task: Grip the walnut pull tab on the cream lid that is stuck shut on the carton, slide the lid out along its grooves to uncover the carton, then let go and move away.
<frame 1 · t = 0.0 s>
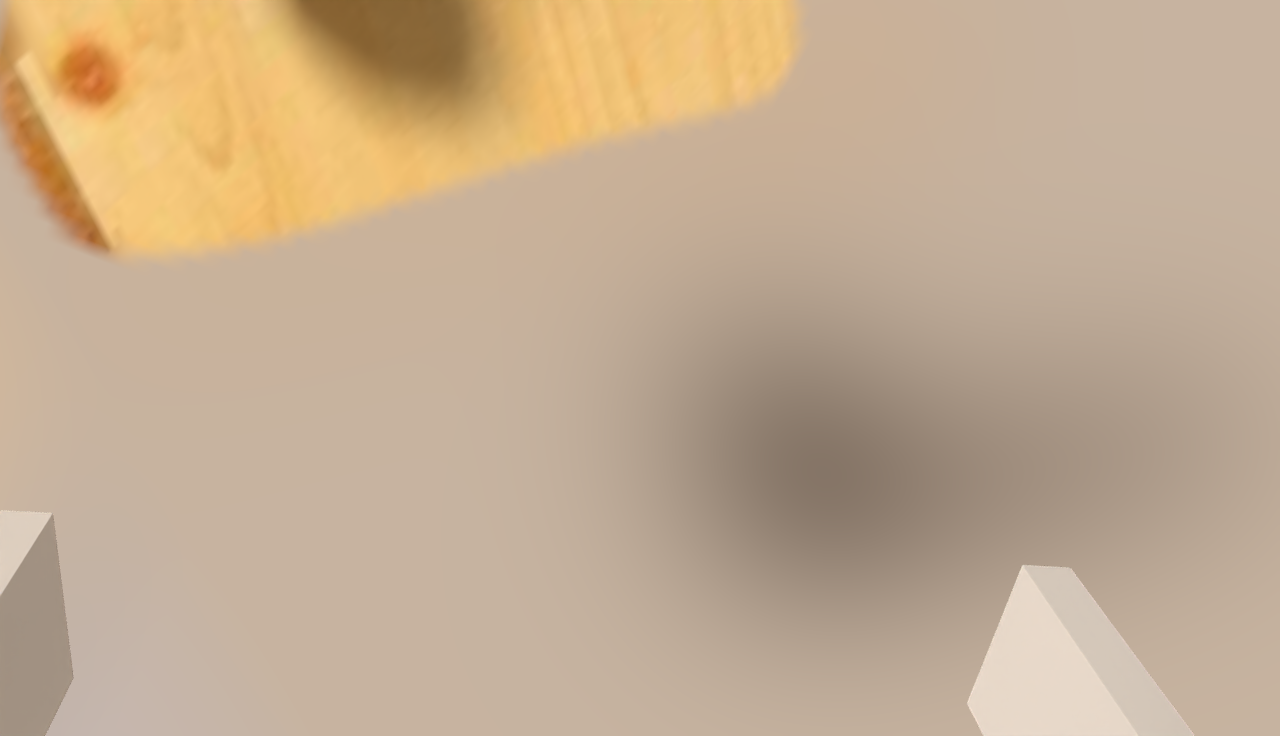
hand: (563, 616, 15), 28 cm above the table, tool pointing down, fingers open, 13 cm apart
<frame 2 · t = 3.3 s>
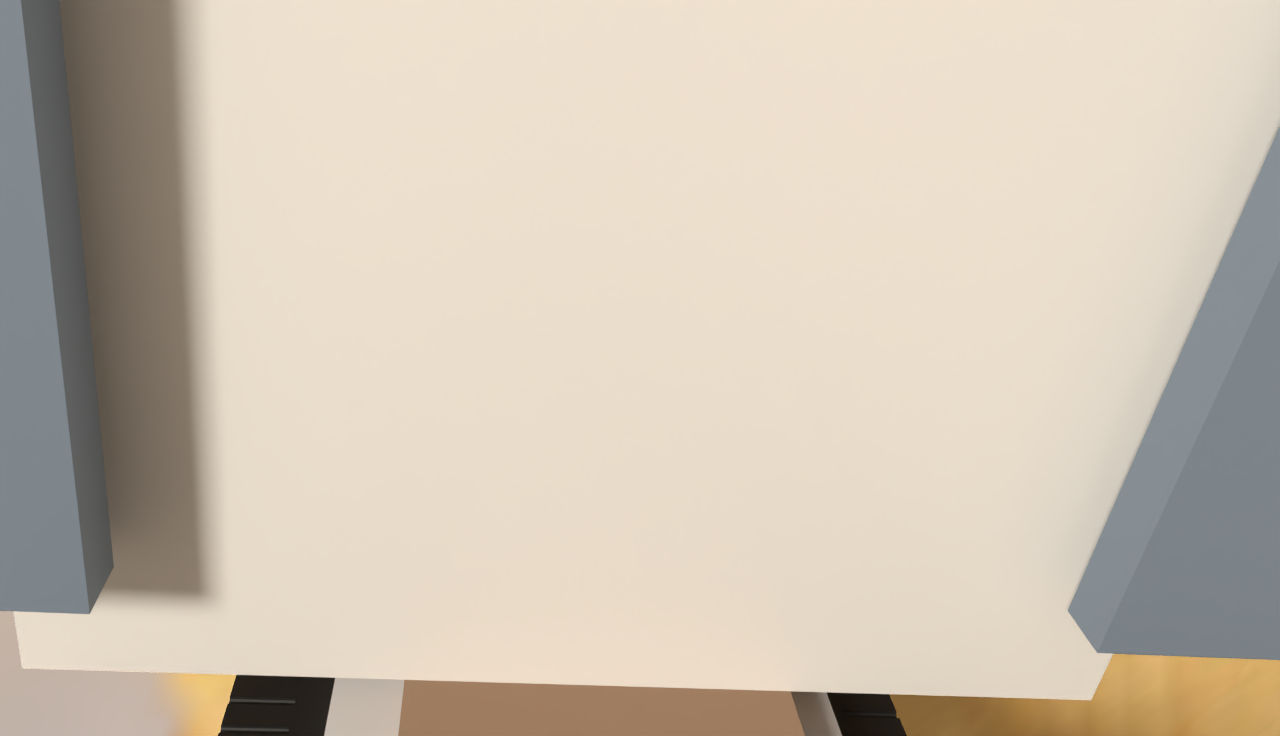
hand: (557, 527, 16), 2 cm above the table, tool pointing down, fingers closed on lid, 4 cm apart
lid: (711, 104, 8), point 8 cm above the table, slide at 0.0 cm, touching gripper
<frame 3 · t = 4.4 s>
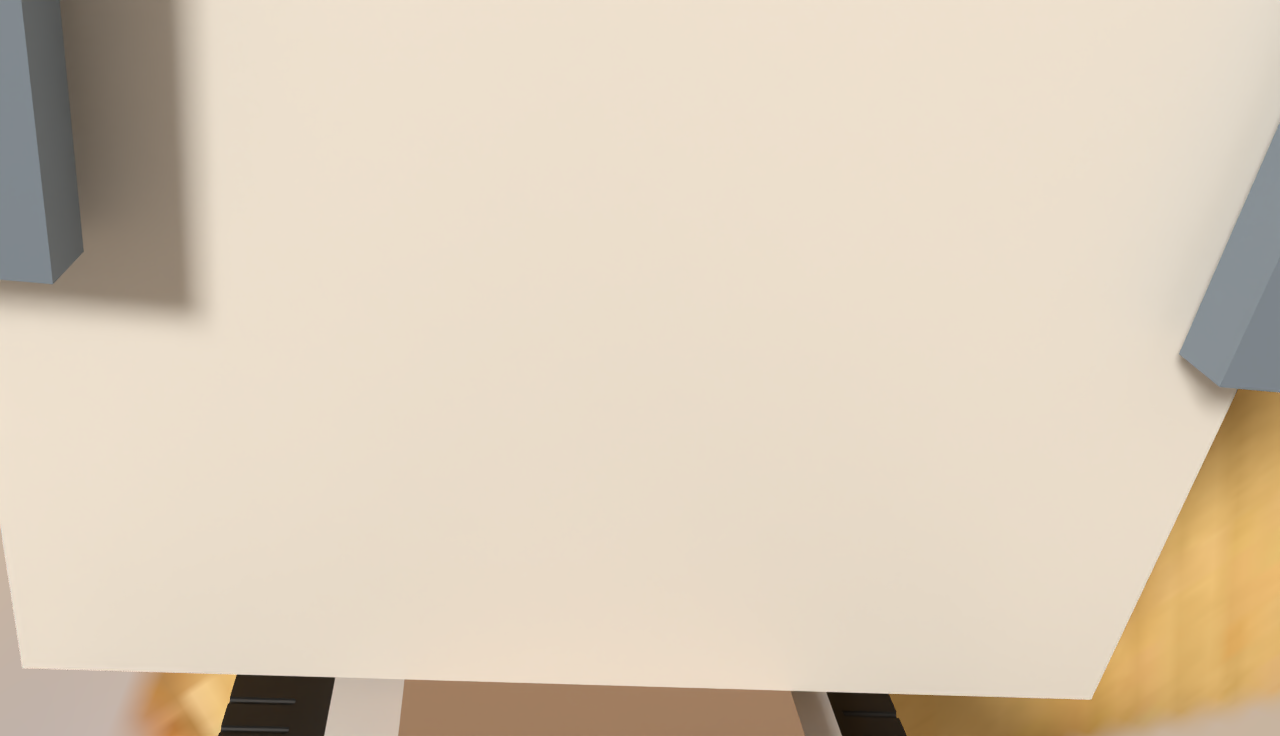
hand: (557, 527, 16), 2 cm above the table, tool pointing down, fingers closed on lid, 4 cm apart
lid: (710, 103, 8), point 8 cm above the table, slide at 2.9 cm, touching gripper
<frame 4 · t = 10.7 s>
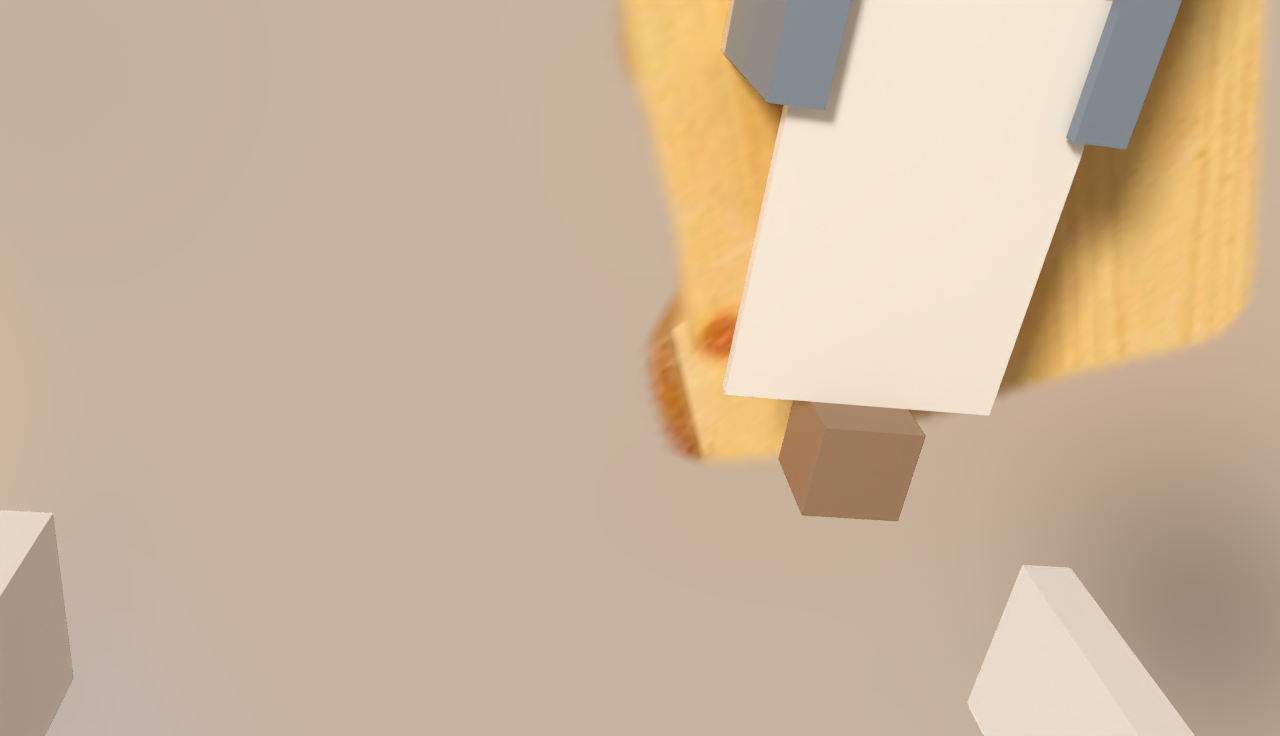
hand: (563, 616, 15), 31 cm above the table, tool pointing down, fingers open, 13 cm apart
lid: (900, 265, 39), point 7 cm above the table, slide at 9.9 cm
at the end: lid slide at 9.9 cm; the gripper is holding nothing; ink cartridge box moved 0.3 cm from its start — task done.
